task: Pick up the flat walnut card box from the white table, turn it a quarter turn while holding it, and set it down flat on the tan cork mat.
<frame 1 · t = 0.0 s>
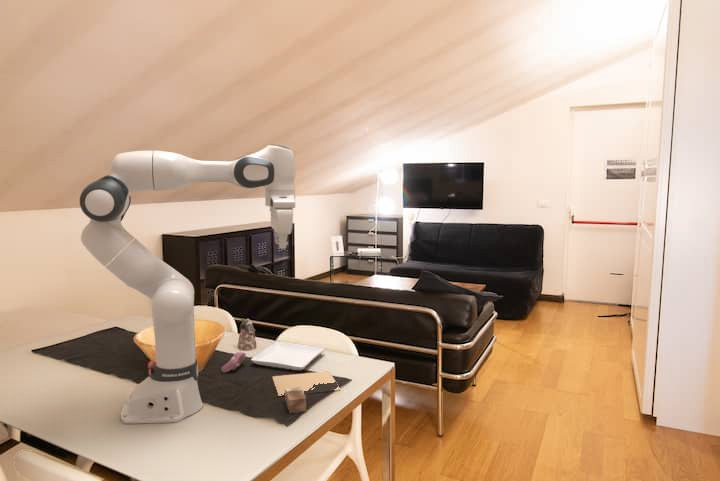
hand: (280, 246, 156), 48 cm above the table, tool pointing down, fingers open, 8 cm apart
pink oblong lump: (234, 369, 186), on the table
salad plate: (288, 362, 194), on the table
figurine: (247, 348, 207), on the table
cork mat: (305, 384, 173), on the table
walnut card box: (295, 407, 156), on the table
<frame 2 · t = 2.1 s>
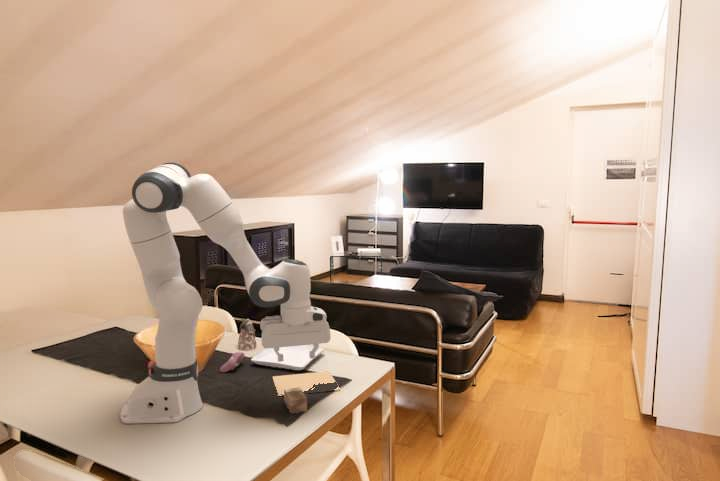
hand: (296, 359, 154), 15 cm above the table, tool pointing down, fingers open, 8 cm apart
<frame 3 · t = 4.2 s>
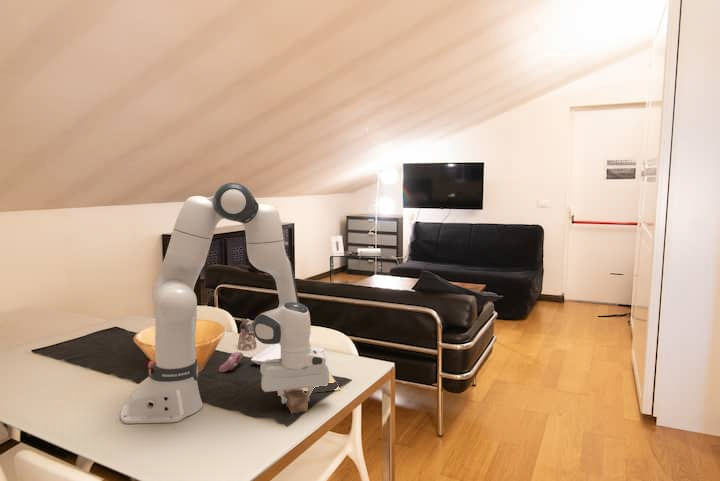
hand: (295, 401, 156), 2 cm above the table, tool pointing down, fingers closed on walnut card box, 5 cm apart
walnut card box: (295, 407, 156), on the table, touching gripper
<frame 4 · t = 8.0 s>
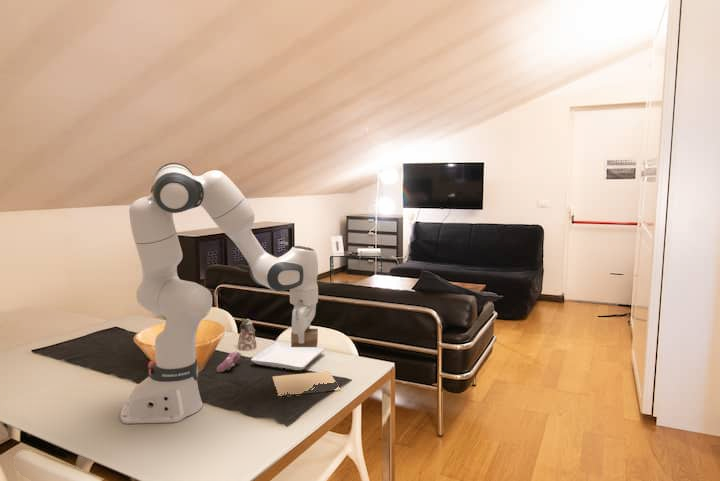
hand: (303, 339, 165), 17 cm above the table, tool pointing down, fingers closed on walnut card box, 5 cm apart
walnut card box: (304, 344, 165), point 16 cm above the table, touching gripper
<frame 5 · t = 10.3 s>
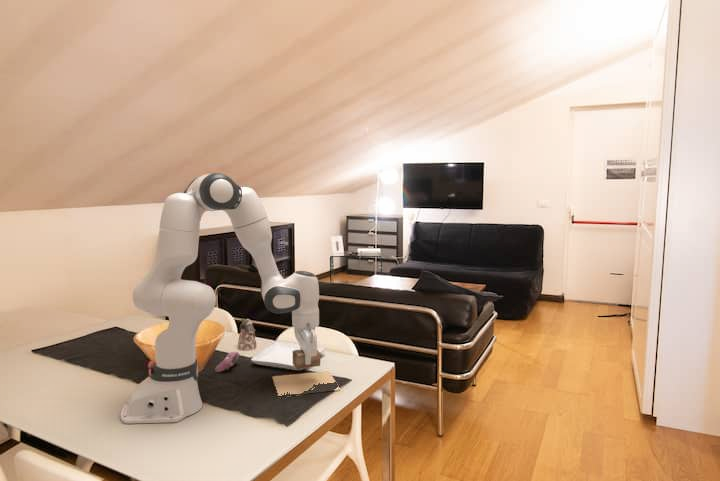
hand: (305, 360, 172), 8 cm above the table, tool pointing down, fingers closed on walnut card box, 5 cm apart
walnut card box: (306, 364, 173), point 6 cm above the table, touching gripper
when the fingers open (4 cm above the table, at t = 12.0 s): walnut card box drops 1 cm, resting on cork mat.
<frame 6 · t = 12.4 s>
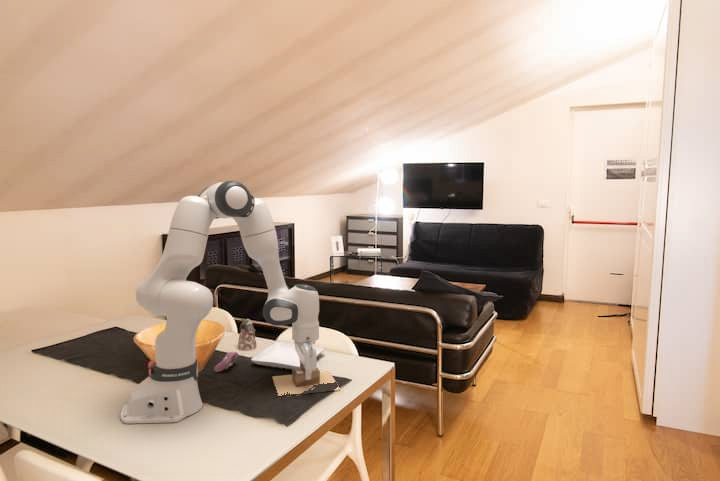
hand: (305, 373, 172), 4 cm above the table, tool pointing down, fingers open, 8 cm apart
walnut card box: (305, 382, 173), resting on cork mat
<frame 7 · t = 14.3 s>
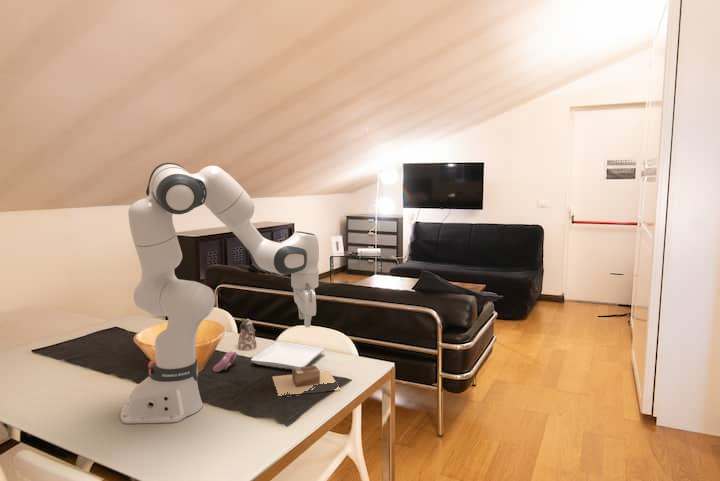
hand: (304, 322, 170), 21 cm above the table, tool pointing down, fingers open, 8 cm apart
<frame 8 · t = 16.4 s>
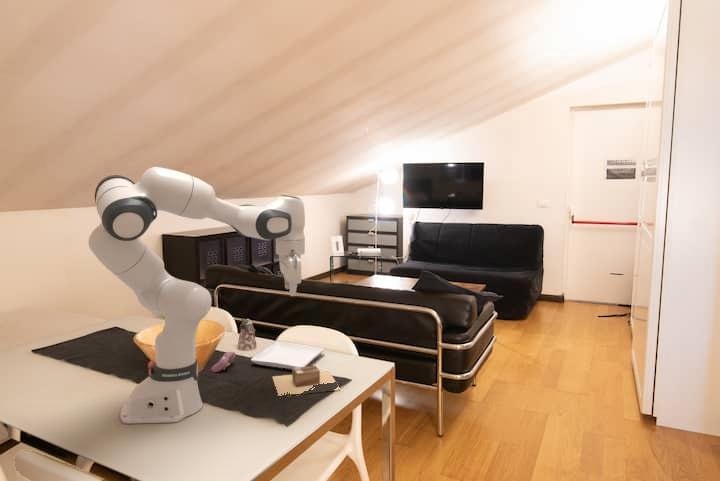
hand: (290, 292, 161), 33 cm above the table, tool pointing down, fingers open, 8 cm apart
at the end: walnut card box inside the target area on the cork mat (0.2 cm from its centre), point 0.5 cm above the cork mat's base; walnut card box tilted 0°; the gripper is holding nothing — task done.
